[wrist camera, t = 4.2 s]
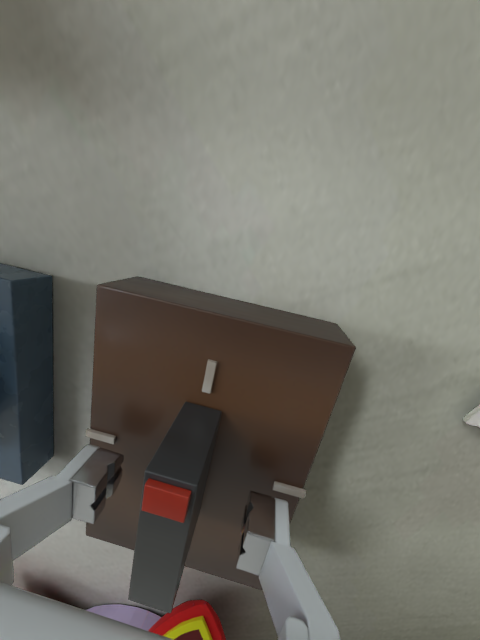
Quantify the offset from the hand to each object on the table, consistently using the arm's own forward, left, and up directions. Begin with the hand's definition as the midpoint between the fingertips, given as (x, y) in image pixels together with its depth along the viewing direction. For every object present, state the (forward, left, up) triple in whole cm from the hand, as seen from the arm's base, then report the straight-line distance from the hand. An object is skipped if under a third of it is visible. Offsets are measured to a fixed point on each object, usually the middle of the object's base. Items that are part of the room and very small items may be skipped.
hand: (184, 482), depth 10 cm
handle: (0, 0, -1) cm, 1 cm away
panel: (0, 0, -4) cm, 4 cm away
